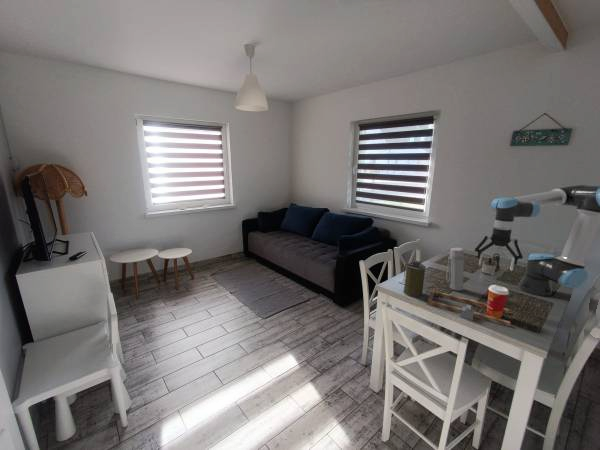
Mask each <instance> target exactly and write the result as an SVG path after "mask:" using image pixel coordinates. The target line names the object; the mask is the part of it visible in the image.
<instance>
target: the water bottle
mask: <svg viewBox="0 0 600 450" xmlns="http://www.w3.org/2000/svg"><path fill="white" fill-rule="evenodd" d="M464 257H465V256H464V248H461V247H451V248H450V251H449V256H448V257H447V258H448V261H447V266H448V267H447V268H446V269H447V270H446V274H448V275H449V276H448V275H446V276H445V277H446V281H447V282H449V288H450V289H451V290H453V291H457V292H458V291H463V290H464ZM448 277H449V278H448Z"/></svg>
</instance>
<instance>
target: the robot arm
mask: <svg viewBox="0 0 600 450" xmlns="http://www.w3.org/2000/svg"><path fill="white" fill-rule="evenodd" d="M490 205H491V206H490V207H491V209H492V210H493V211H494V212H495V219H494V222H493V228H492V233H491V236H489V235H487V234H485V235H484V237H483V239H482V240H481V241H480V242H479V243H478V245H477V246H475V248H474V252H476V253H477V259H478V260H479V262H478V266H481V265H482V259H483V252H485V251H486V250H488V249H489V248H491V247H493V246H494V245H495V247H506V249H507V250H508V251H509V253H510V254H511V255H512V256H513V257H512V258H511V264H510V268H509V270H510V272H513V270H514V266H516V265H517V264H518V260H519V259H521V260H522V259H523V254H522V253H521V249H520V247H519V245H518V244H519V243H518V242H519V240H518V239H517V238H514V239H512V238H511V236H512V235H511V234H512V229H513V225H514V221H515V218H534V217H536V216H538V215H539V214H540V211H541V207H547V206H552V205H553V206H557V207H559V206H571V207H576V209H575V210H576V211H577V213H578V215H577V217H576V219H575V222H574V224H573V226H572V229H571V230H570V233H569V236H568V238H567V240H566V243H565V245H564V247H563V250H562V253H561V254H560V256H555V255H554V254H549V253H541V252H540V253H538V252H535V253H531V254H529V256H528V259H527V264H526V268H525V273H524V276H523V278H521V280H520V282H519V283H518V288H519V289H520V290H521V291H523V292H526V293H527V294H532V295H536V296H542V297H550V296H552V293H553V288H552V287H553V286H552V282H554V283H556V284H559V285H560V286H563V287H565V288H566V287H567V288H569V289H572V288H573V289H574V288H579V287H580V286H582V285H583V284H585V282H586V281H587V280H588V278H589V274H588V271H587V270H586V269H585V267H586V264H585V262H584V260H585V257H586V255H587V253H588V251H589V249H590V247H591V244H592V241H593V240H594V237H595V236H596V232H597V230H598V228H599V226H600V186H599V185H586V184H585V185H583V184H579V185H578V184H576V185H571V186H565V187H556V188H553V189H551V190H550V191H545V192H538V193H532V194H526V195H521V196H514V197H500V198H499V197H497V198H495V199H493V200H492V202H491V204H490ZM489 240H491V241H490V242H489V243H488V244H486V242H487V241H489ZM509 243H512V244H513V245H514V247H515V249H516V252H517V254H518V255H517V254H516V252H515V251H514V250H513V248H511V246H510V245H509ZM484 244H486V245H484ZM483 245H484V246H483ZM482 246H483V247H482ZM481 247H482V248H481Z"/></svg>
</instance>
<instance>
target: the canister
mask: <svg viewBox="0 0 600 450" xmlns="http://www.w3.org/2000/svg"><path fill="white" fill-rule="evenodd" d="M404 269H405V271H404V274H403V278H404V286H403V287H404V288H403V294H405V296H407V297H411V298H421V297H423V295H424V294H423V289H424V281H425V276H426V275H425V274H426V269H427V266H426V265H424V264H423V263H422V261H420V260H415V259H414V260H413V261H410V262H406V263H405V265H404Z"/></svg>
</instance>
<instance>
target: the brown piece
mask: <svg viewBox="0 0 600 450" xmlns="http://www.w3.org/2000/svg"><path fill="white" fill-rule="evenodd" d="M435 296H436V297H437V296H438V297H440V298H444V299H448V300H452V301H454V302H455V301H456V302H460V303H463V304H466V305H470V306H471V305H472V306H475V307H479V308H483V309H486V310H487V303H484V302H481V301H477V300H475V299H471V298H468V297H467V298H466V297H461V296H456V295H453V294H449V293H445V292H440V291H438V290H435V289H432V290H431V292H430V294H429V296H428V298H427V304H426V305H430V306H433V307H436V308H440V309H443V310H446V311H447V310H448V311H451V312H454V313H458V314H461V313H462V308H461V307H458V306H457V307H456V306H453V305H449V304H446V303H442V302H438V301H435V300H433V299H434V297H435ZM502 314H507V315H508V314H509V309H508V308H505V307H504V309H503V313H502ZM473 318H475V319H480V320H483V321H487V322H490V323H494V324H498V325H501V326H506V327H508V328H509V327H510V326H511V321H509V320H505V319H501V318H500V319H498V318H495V317H491V316H488V315H487V314H483V313H479V312H476V311H474V316H473Z"/></svg>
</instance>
